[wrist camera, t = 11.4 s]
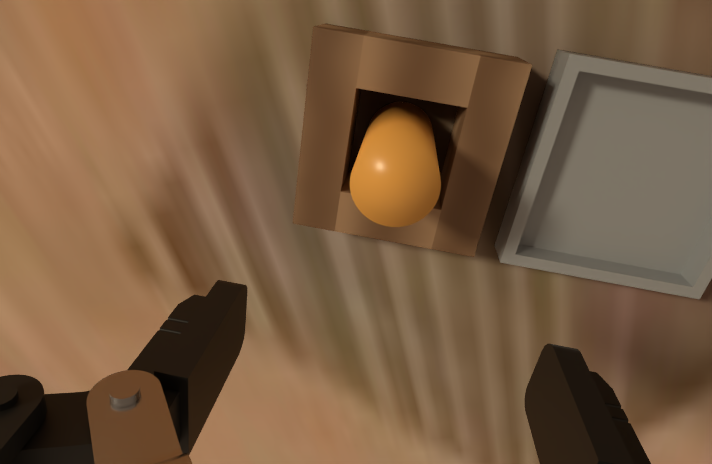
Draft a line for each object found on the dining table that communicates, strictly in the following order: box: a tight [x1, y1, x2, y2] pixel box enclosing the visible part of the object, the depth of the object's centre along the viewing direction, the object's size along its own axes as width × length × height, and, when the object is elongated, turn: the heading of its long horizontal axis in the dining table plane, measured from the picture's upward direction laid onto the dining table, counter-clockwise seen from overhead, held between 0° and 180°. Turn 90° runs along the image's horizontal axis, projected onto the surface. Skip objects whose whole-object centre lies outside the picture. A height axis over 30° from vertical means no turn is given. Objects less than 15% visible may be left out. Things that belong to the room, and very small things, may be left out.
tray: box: [495, 50, 712, 299], centre depth 31 cm, size 14×14×2 cm
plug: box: [350, 102, 441, 227], centre depth 28 cm, size 4×4×10 cm
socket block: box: [293, 24, 532, 257], centre depth 30 cm, size 12×12×4 cm
